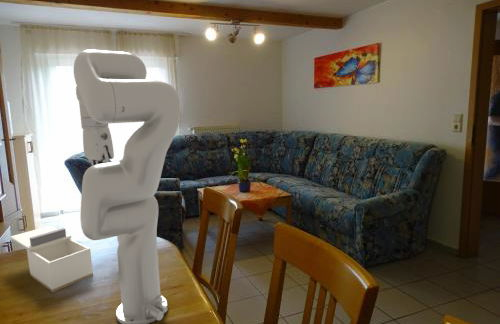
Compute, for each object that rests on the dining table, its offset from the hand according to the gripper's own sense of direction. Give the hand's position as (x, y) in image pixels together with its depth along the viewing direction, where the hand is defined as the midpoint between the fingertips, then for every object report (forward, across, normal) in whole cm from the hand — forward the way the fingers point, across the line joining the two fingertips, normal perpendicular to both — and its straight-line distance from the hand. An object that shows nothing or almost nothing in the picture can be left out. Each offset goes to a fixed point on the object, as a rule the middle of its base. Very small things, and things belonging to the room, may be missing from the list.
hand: (100, 181), depth 107 cm
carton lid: (+20, +20, +12) cm, 31 cm away
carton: (+29, +7, +12) cm, 32 cm away
